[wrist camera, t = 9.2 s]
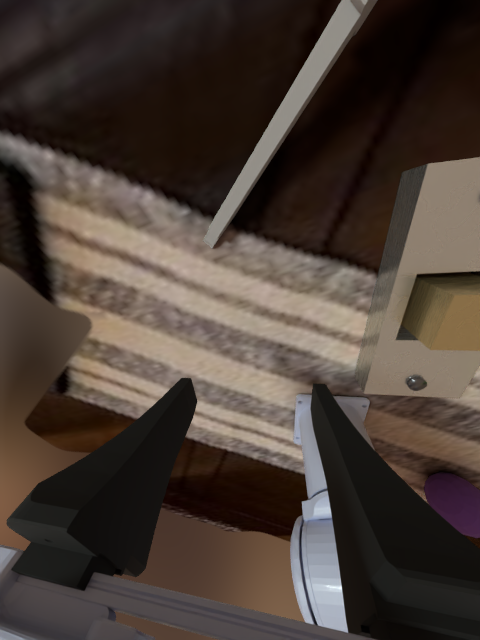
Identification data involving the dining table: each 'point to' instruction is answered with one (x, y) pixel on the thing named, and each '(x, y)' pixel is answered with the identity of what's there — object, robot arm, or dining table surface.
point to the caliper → (292, 107)
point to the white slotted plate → (400, 273)
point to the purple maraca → (455, 502)
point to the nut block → (445, 311)
